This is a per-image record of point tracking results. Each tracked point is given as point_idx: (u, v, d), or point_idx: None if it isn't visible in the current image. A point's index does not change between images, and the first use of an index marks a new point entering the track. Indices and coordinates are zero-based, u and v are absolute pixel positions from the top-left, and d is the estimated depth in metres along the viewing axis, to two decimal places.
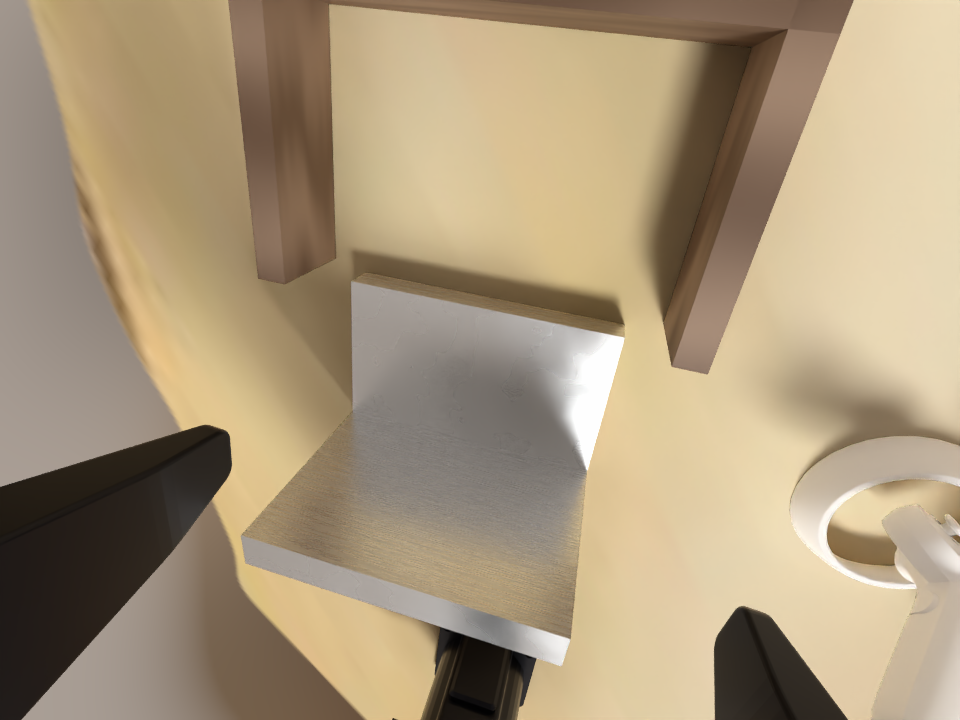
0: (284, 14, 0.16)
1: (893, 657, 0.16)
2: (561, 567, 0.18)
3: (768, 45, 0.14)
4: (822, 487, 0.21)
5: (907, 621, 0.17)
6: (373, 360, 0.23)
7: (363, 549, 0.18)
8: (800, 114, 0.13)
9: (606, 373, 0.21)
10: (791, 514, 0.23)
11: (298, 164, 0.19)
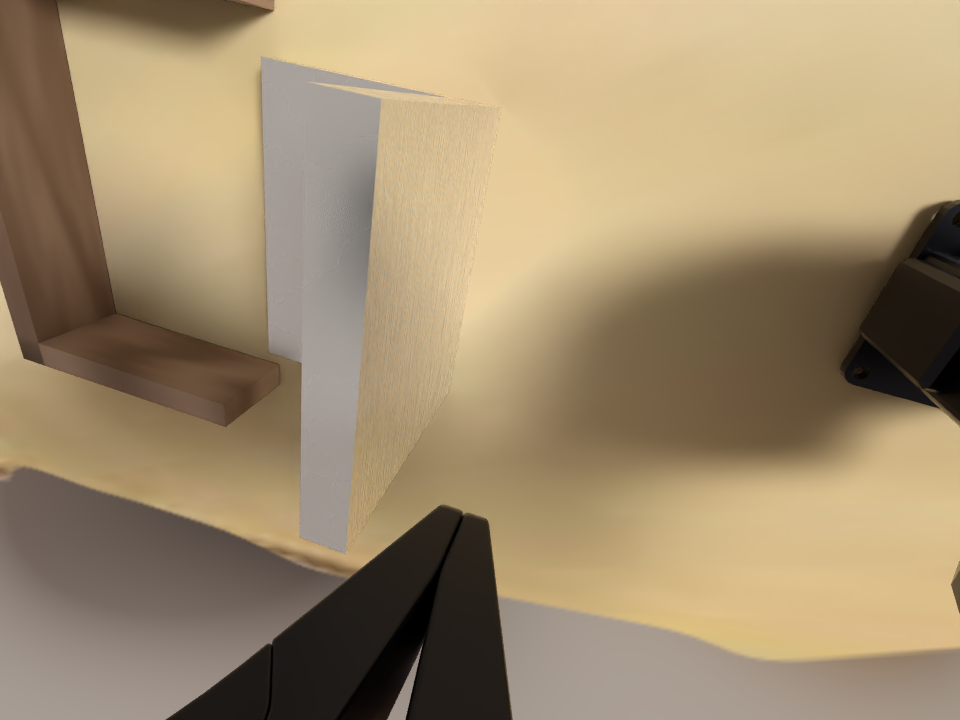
0: (75, 338, 0.24)
1: None
2: None
3: None
4: None
5: None
6: None
7: None
8: None
9: (305, 76, 0.17)
10: None
11: (164, 362, 0.23)
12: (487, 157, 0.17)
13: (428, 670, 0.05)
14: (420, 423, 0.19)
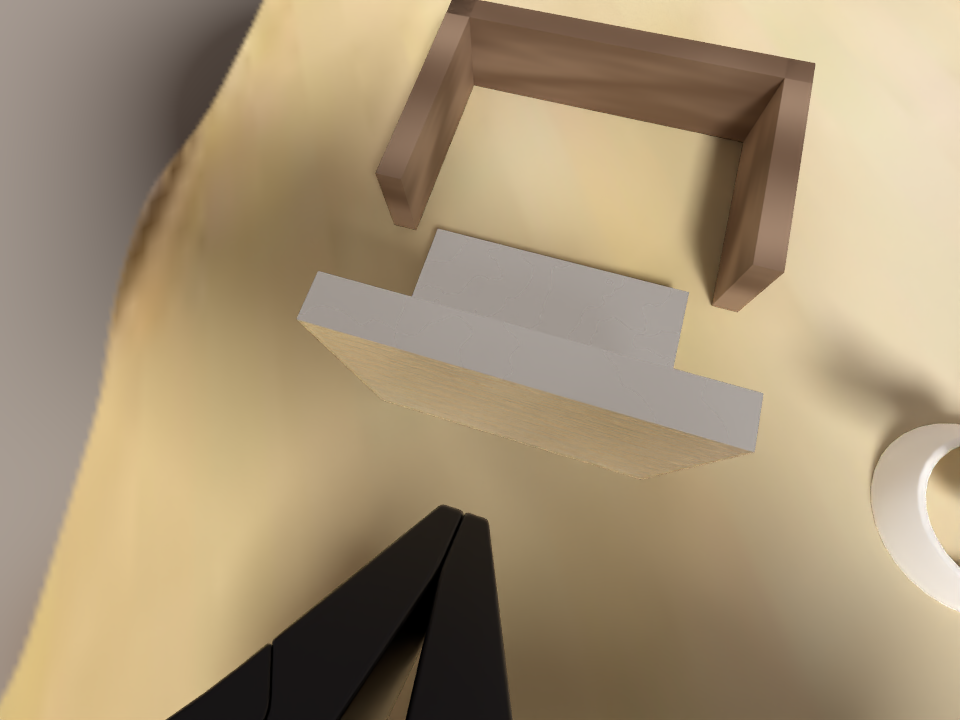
0: (466, 48, 0.25)
1: None
2: None
3: (765, 109, 0.24)
4: (901, 468, 0.20)
5: None
6: (433, 303, 0.22)
7: None
8: (802, 113, 0.21)
9: (674, 325, 0.22)
10: (879, 527, 0.20)
11: (437, 125, 0.24)
12: (607, 466, 0.21)
13: (428, 670, 0.05)
14: (377, 383, 0.19)
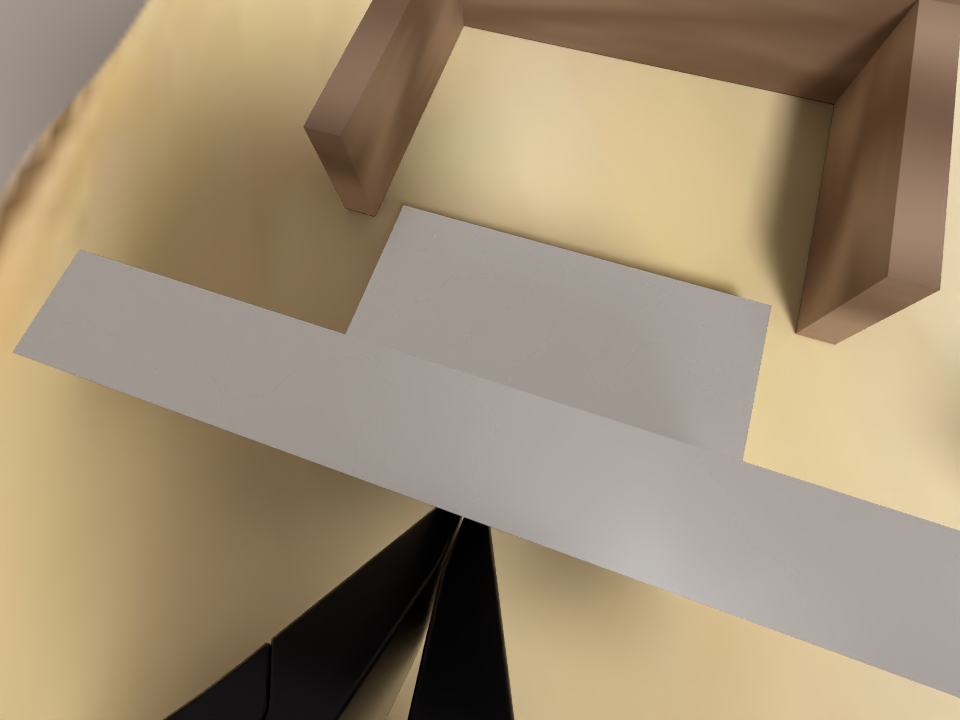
0: None
1: None
2: None
3: (879, 51, 0.16)
4: None
5: None
6: (391, 312, 0.15)
7: None
8: (951, 48, 0.14)
9: (750, 354, 0.14)
10: None
11: (404, 67, 0.17)
12: None
13: (430, 671, 0.05)
14: None
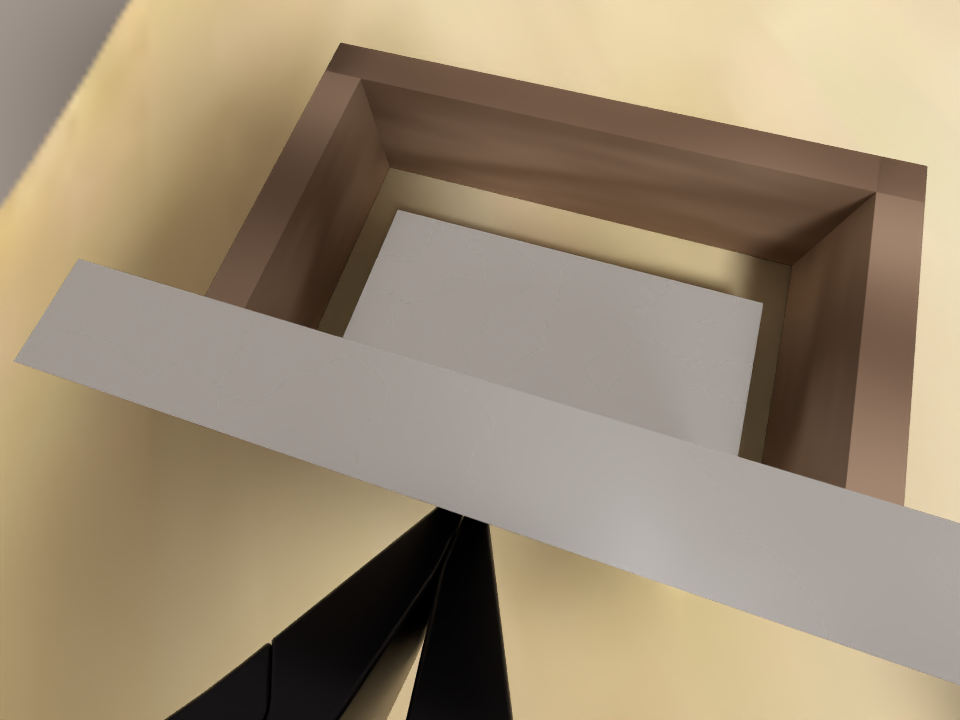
0: (361, 124, 0.16)
1: None
2: None
3: (835, 232, 0.15)
4: None
5: None
6: (387, 316, 0.15)
7: None
8: (912, 259, 0.12)
9: (743, 352, 0.14)
10: None
11: (306, 251, 0.15)
12: None
13: (428, 670, 0.05)
14: None
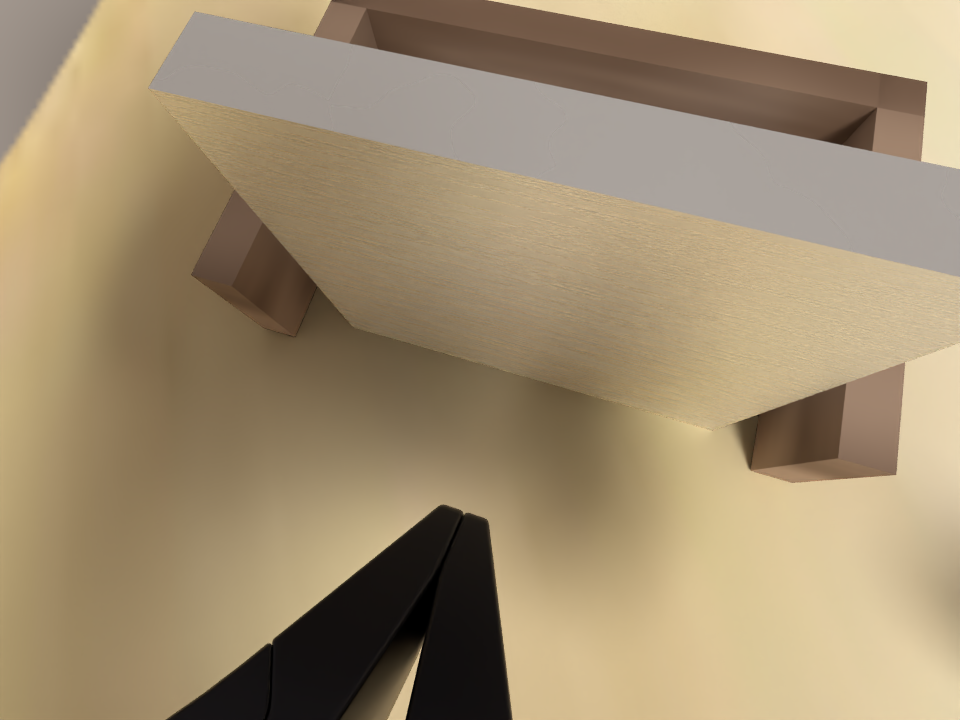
0: None
1: None
2: None
3: None
4: None
5: None
6: None
7: None
8: None
9: None
10: None
11: None
12: (668, 411, 0.14)
13: (428, 670, 0.05)
14: (335, 280, 0.13)
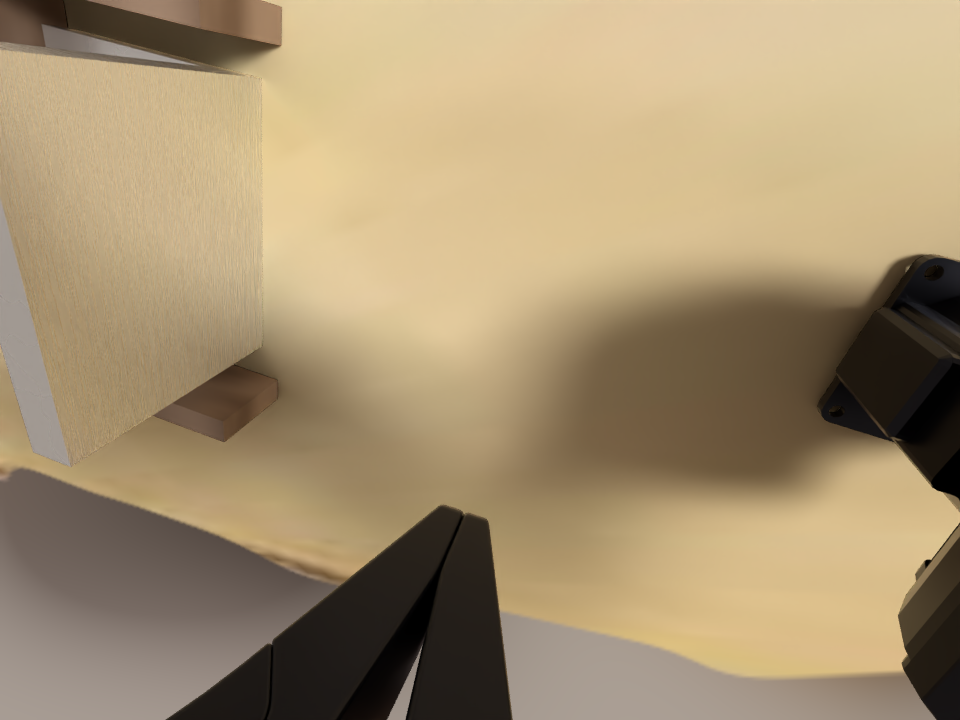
0: None
1: None
2: None
3: None
4: None
5: None
6: None
7: None
8: None
9: (81, 43, 0.19)
10: None
11: None
12: (248, 123, 0.19)
13: (428, 670, 0.05)
14: (201, 367, 0.21)
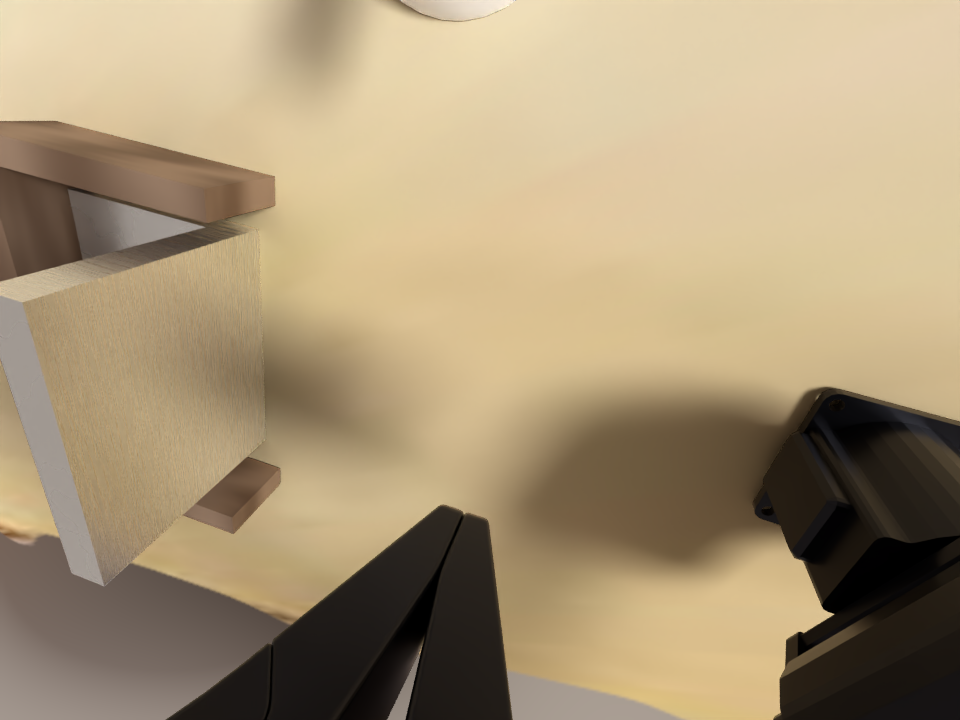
0: None
1: None
2: None
3: None
4: None
5: None
6: None
7: None
8: (16, 144, 0.18)
9: (102, 205, 0.22)
10: (485, 14, 0.16)
11: None
12: (248, 267, 0.22)
13: (428, 670, 0.05)
14: (212, 474, 0.24)
